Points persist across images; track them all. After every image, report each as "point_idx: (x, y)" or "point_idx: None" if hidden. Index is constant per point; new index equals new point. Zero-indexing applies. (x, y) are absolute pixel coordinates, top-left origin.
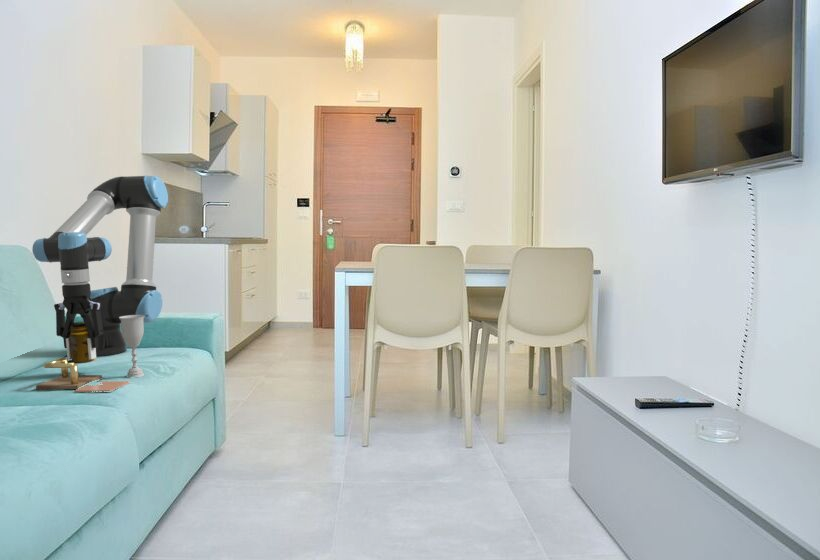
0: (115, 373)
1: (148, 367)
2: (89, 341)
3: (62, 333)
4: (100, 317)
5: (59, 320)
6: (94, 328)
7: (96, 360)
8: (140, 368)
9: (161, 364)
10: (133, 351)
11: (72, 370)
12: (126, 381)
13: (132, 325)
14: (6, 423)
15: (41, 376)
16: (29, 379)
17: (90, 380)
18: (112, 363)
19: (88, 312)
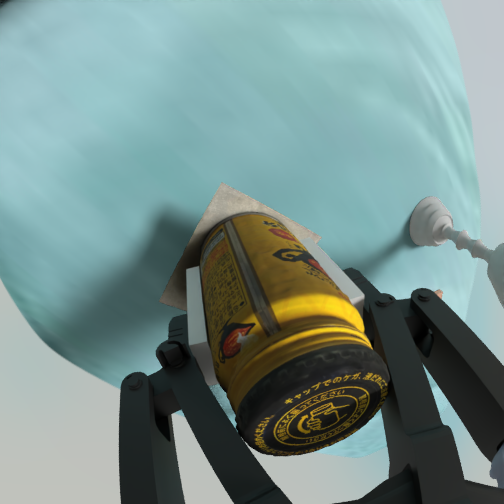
0: (357, 204)
1: (409, 102)
2: None
3: (174, 408)
4: (495, 367)
5: (181, 501)
6: (424, 364)
7: (308, 236)
8: (452, 222)
9: (419, 57)
10: (483, 257)
11: None
12: (438, 295)
13: None
14: (353, 457)
15: (112, 308)
16: (118, 343)
17: (365, 334)
18: (208, 39)
19: (441, 454)
